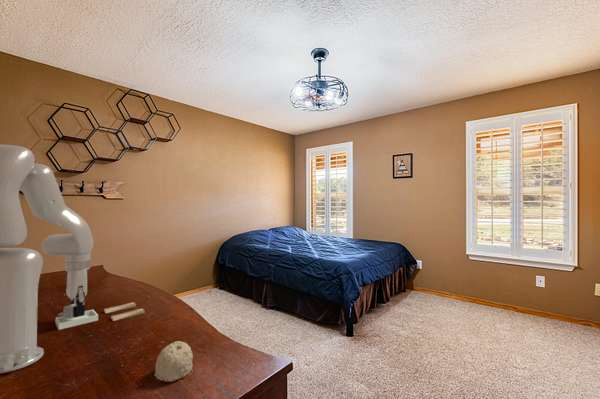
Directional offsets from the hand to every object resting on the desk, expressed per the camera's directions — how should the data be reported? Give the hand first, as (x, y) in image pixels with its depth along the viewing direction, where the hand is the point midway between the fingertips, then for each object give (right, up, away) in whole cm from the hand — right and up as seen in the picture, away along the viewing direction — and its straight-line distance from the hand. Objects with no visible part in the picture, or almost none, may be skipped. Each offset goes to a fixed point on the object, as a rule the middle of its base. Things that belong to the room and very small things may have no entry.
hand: (77, 313), depth 108 cm
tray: (0, -3, 0) cm, 3 cm away
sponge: (+50, -3, -32) cm, 59 cm away
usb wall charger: (-1, -1, -2) cm, 3 cm away
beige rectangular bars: (+12, -3, +9) cm, 15 cm away
